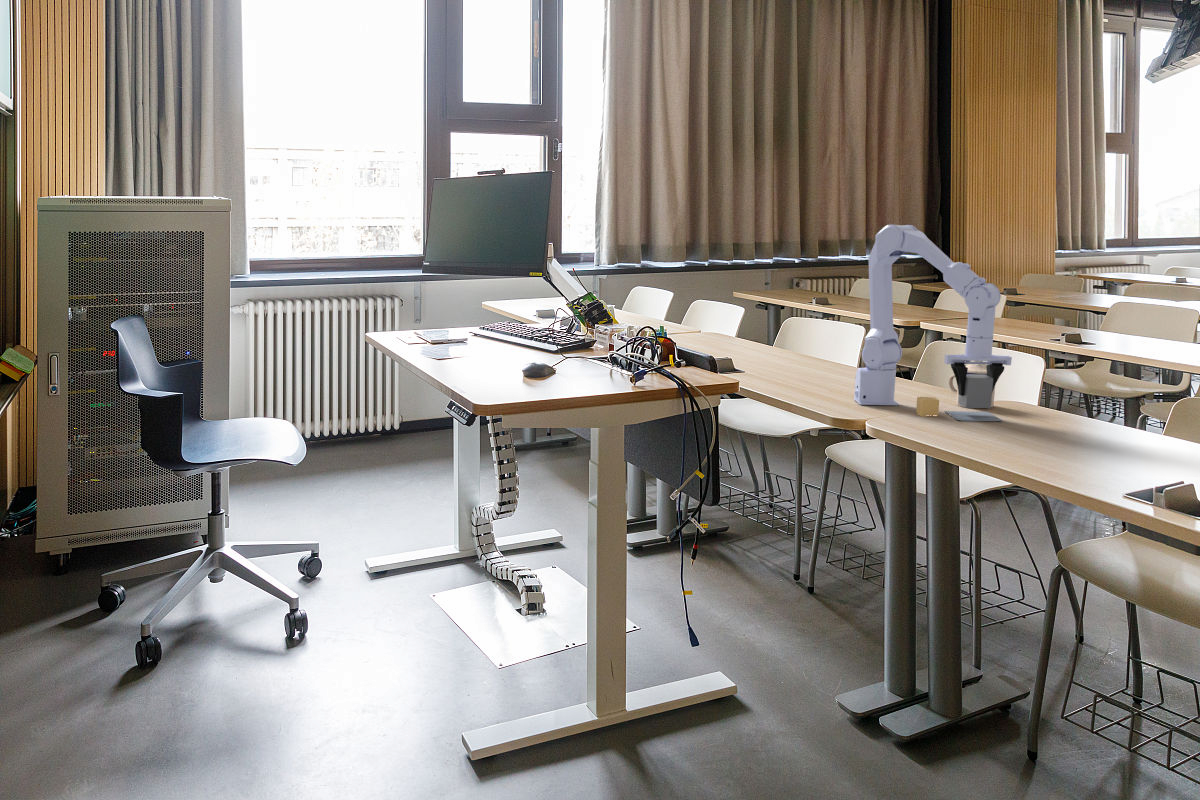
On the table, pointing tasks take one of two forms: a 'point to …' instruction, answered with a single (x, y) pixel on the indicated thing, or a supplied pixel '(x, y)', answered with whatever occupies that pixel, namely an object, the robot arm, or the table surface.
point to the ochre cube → (927, 406)
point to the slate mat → (973, 416)
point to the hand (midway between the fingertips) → (974, 395)
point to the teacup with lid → (972, 369)
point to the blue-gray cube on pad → (977, 391)
